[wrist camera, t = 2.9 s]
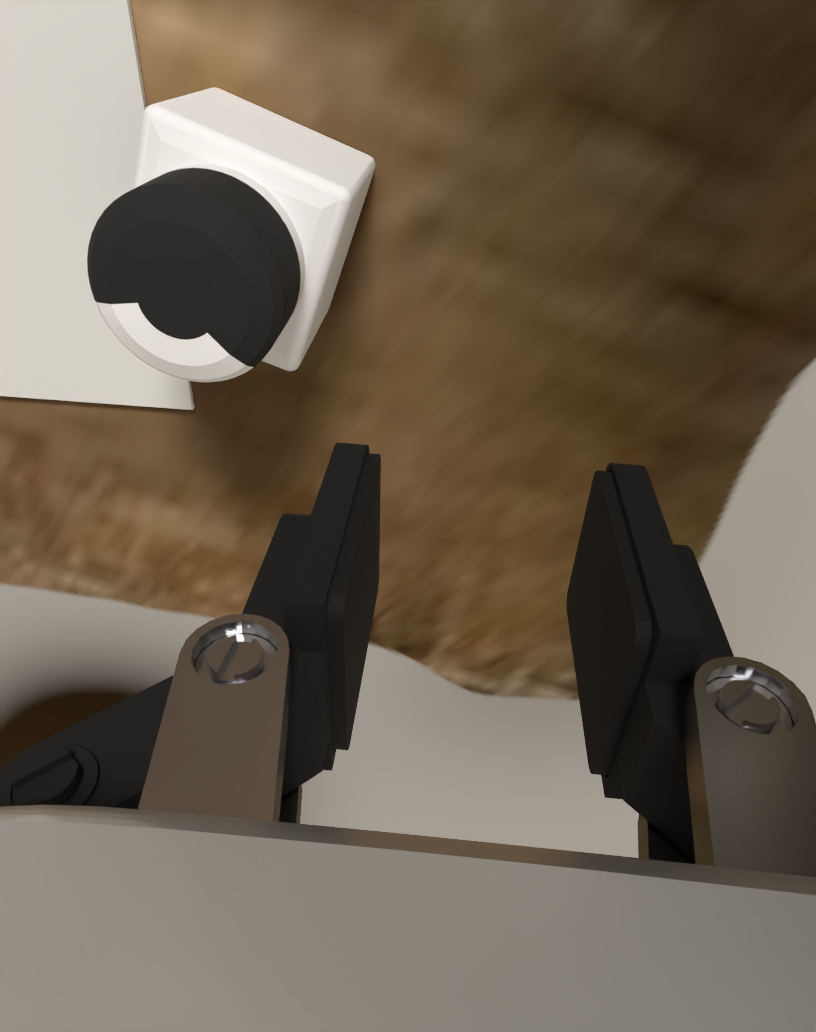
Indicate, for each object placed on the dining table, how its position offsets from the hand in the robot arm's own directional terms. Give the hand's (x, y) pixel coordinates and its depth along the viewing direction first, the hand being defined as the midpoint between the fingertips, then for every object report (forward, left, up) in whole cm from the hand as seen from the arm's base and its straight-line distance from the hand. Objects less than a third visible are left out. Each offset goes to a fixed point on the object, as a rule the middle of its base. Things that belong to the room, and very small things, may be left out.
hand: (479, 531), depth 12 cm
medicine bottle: (+9, 0, -22) cm, 24 cm away
